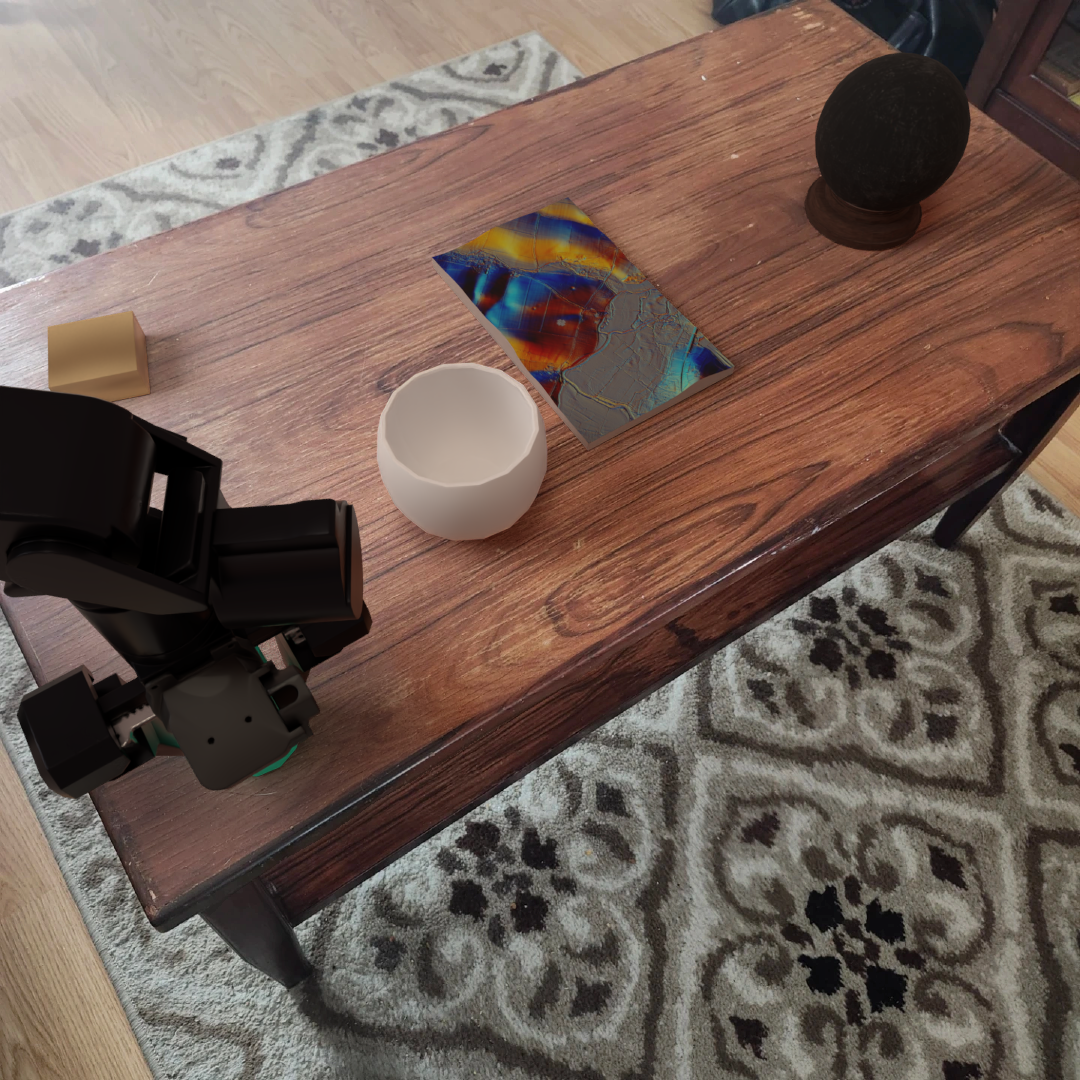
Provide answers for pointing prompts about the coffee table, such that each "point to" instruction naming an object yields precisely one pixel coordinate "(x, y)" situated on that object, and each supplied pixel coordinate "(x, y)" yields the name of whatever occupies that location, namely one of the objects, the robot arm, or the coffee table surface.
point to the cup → (462, 450)
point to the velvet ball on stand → (886, 149)
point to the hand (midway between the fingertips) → (242, 714)
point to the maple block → (99, 357)
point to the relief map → (581, 321)
